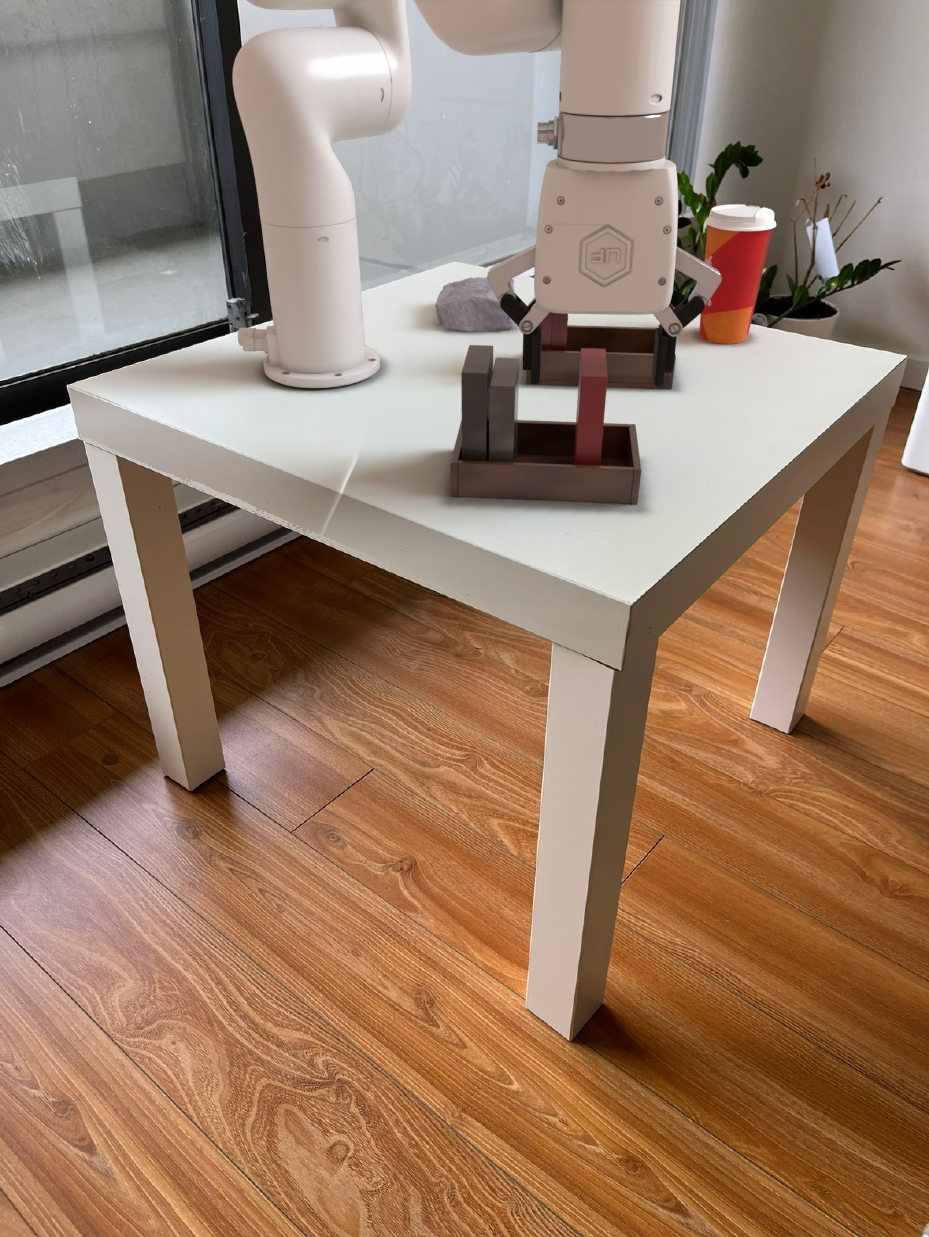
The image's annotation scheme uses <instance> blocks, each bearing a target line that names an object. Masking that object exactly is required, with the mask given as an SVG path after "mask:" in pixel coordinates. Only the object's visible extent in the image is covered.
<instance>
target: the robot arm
mask: <svg viewBox="0 0 929 1237" xmlns="http://www.w3.org/2000/svg"><path fill="white" fill-rule="evenodd" d="M246 1H247V2H248V3H250V4H251V5H253V6H254V7H258V8H261V9H264V10H272V11H273V10H275V11H311V10H312V11H313V10H314V11H315V10H332V11H333V16H334V20H335V24H336V26H322V25H321V26H301V27H285V28H284V27H283V28H276V29H271V30H267V31H264V32H260V33H258V34H256V35H254V36H252V37H250V39H248V40H247V41H246V42H245V43H244V44H243V45H242V46H241V47H240V49H239V51H238V52H237V54H236V56H235V59H234V61H233V66H232V88H233V94H234V98H235V102H236V107H237V111H238V114H239V117H240V121H241V124H242V127H243V128H242V129H243V131H244V135H245V138H246V141H247V146H248V149H249V154H250V158H251V164H252V168H253V169H252V170H253V174H254V175H253V176H254V179H255V180H254V181H255V187H256V195H257V202H258V210H259V217H260V224H261V225H260V226H261V232H262V240H263V250H264V256H265V258H264V259H265V265H266V273H267V274H266V275H267V281H268V290H269V300H270V307H271V314H272V322H273V324H272V325H267V326H266V328H265V329H263V328H262V329H261V328H256V327H239V328H238V330H237V341H238V345H239V346H240V347H242V350H243V351H244V352H255V353H256V352H264V354H265V355H266V357H265V358H264V360H263V370H264V373H265V376H266V377H267V378H269V379H270V380H271V381H273V382H275V383H278V384H281V385H283V386H288V387H294V388H301V389H328V388H337V387H343V386H349V385H352V384H357V383H359V382H362V381H364V380H367V379H368V378H371V377H372V376H374V375H375V374H376V373H377V372H378V371H379V369H380V368H381V357H380V353H379V352H378V350H376V349H374V348H373V347H371V346H369V345H367V344H366V341H365V327H364V324H365V323H364V312H363V311H364V310H363V309H364V308H363V297H362V296H363V295H362V294H363V293H362V281H361V280H362V279H361V265H360V250H359V235H358V220H357V208H356V198H355V192H354V188H353V185H352V182H351V180H350V177H349V176H348V174H347V173H346V170H345V169H344V168H343V165H342V164H341V163H340V161H339V159H338V158H337V156H336V154H335V152H334V151H333V148H332V145H331V144H333V143H338V142H341V141H350V140H355V139H365V138H371V137H378V136H382V135H385V134H389V133H391V132H393V131H394V130H396V129H397V128H398V127H399V126H401V124H402V123H403V121H404V120H405V119H406V117H407V114H408V112H409V109H410V105H411V101H412V93H413V92H412V91H413V72H412V71H413V70H412V69H413V68H412V58H411V56H412V55H411V47H410V45H411V44H410V36H409V25H408V14H407V13H408V12H407V3H406V0H246ZM412 1H413V2H414V5H415V6H416V8H417V10H418V11H419V13H420V15H421V17H422V18H423V20H424V22H425V23H426V24H427V26H428V27H429V28H430V30H431V31H432V33H433V34H434V35H435V36H436V37H437V38H438V40H440V42H442V43H443V44H444V45H445V46H447V47H448V48H449V49H451V50H452V51H455V52H457V53H459V54H462V55H466V56H473V57H478V56H479V57H480V56H496V55H505V54H506V55H507V54H517V53H543V52H544V53H545V52H556V51H560V66H559V67H560V69H559V92H558V93H559V95H558V116H554V119H548V121H546V122H544V121H543V122H542V121H540V122H537V130H536V131H537V132H536V144H537V145H538V144H540V145H542V144H543V145H545V144H546V145H547V146H548V147H552V149H553V150H557V152H556V154H557V155H556V158H554V159H552V160H549V161H548V163H546V166H545V170H544V173H543V174H544V175H543V178H542V184H541V191H540V197H539V204H538V212H537V213H538V214H537V225H536V240H535V243H534V244H532V245H530V246H529V247H527V248H525V249H523V250H522V251H519V252H518V253H516V254H514V255H512V256H510V257H508V258H507V259H504V260H503V261H501V262H499V263H497V264H495V265H493V266H491V267H490V268H489V270H488V272H487V274H486V277H487V279H488V282H489V284H490V286H491V288H492V290H493V292H494V294H495V296H496V298H497V299H498V301H499V303H500V307H501V309H502V310H503V311H504V312H505V313H506V314H507V315H508V316H509V317H510V318H511V319H512V320H513V323H514V324H515V325H516V326H517V327H518V328H519V331H520V333H522V361H521V362H522V364H521V365H522V366H521V369H522V371H527V370H531V384H530V385H532V386H533V385H535V386H538V385H537V383H540V373H541V346H542V326H540V323H541V322H542V321H543V319H544V318H545V317H546V316H547V315H548V314H549V313H550V312H553V313H562V314H568V315H613V316H614V315H615V316H616V315H618V316H619V315H621V316H636V315H637V316H639V315H640V316H641V315H653V316H654V318H656V320H657V321H658V322H659V324H658V327H655V328H656V334H655V344H654V353H653V363H652V379H653V384H654V385H656V387H663V385H664V376H665V373H673V366H674V358H675V354H676V348H677V339H678V336H680V335H681V334H682V333H683V330H684V328H686V327H687V326H688V325H689V324H690V323H691V322H693V321H694V320H695V319H696V318H697V317H698V316H700V315H701V313H702V312H703V310H704V308H705V305H706V304H707V302H708V301H709V300H710V298H711V297H712V295H713V294H714V292H715V291H716V289H717V288H718V286H719V285H720V283H721V281H722V277H721V275H720V273H719V271H718V270H717V269H715V268H714V267H712V266H710V265H708V264H707V263H705V261H704V260H701V259H700V258H698V257H696V256H695V255H692V254H691V253H690V252H689V251H686V250H684V249H682V248H681V247H679V246H678V245H677V244H678V222H679V221H678V220H679V191H678V190H679V189H678V188H679V187H678V186H679V185H678V184H679V183H678V173H677V172H678V171H677V164H675V163H674V161H672V160H670V159H666V155H667V146H668V136H669V124H670V116H671V115H670V114H671V112H670V110H671V104H672V94H673V82H674V72H675V62H676V54H677V53H676V52H677V42H678V31H679V23H680V22H679V20H680V10H681V2H682V1H681V0H412ZM532 269H533V278H534V279H533V291H534V297H533V298H532V300H531V301H530V302H529V303H528V304H526V303H525V302H524V301H523V300H522V299H521V298H520V297H519V296H518V295H517V293H516V292H515V290H514V291H513V289H512V286H511V284H510V280H511V279H514V278H516V277H518V276H520V275H522V274H524V273H526V272H527V271H530V270H532ZM676 270H677V271H678V272H680V273H682V274H684V275H685V276H687V277H688V278H690V279H692V280H694V281H695V282H696V284H695V286H694V287H693V290H692V291H691V293H690V294H689V295H687V296H686V297H685V298H684V299H683V300H681V302H680V303H679V304H677V305H676V306H674V305H673V303H671V301H672V298H673V297H672V296H673V290H674V283H675V273H676Z"/></svg>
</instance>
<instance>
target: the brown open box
mask: <svg viewBox="0 0 929 1237" xmlns="http://www.w3.org/2000/svg"><path fill="white" fill-rule="evenodd" d="M540 326H542V346H541V373H540V383H537V385H536V386H538V385H541V386H568V387H569V386H570V387H571V386H573V387H578V384H579V370H580V355H581V348H591V349H605V350H606V363H607V376H608V379H607V388H631V389H632V388H633V389H634V388H636V389H660V390H661V389H662V390H672V389H673V384H674V383H673V382H674V376H675V368H676V360H677V355H676V353H675V358H674V366H673V373H665V376H664V385H663V387H656V385H654V384H653V379H652V363H653V353H654V344H655V334H656V328H657V327H653V326H652V327H651V326H650V327H649V326H646V327H645V326H613V325H611V326H609V325H579V324H578V325H575V324H574V325H573V324H569V314H562V313H553V312H550V313H549V314H548V315H547V316H546V317H545V318H544V319H543V321H542V322H541V323H540ZM525 371H526V374H525V378H526V379H525V384H526V385H531V370H525Z"/></svg>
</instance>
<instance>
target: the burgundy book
mask: <svg viewBox="0 0 929 1237" xmlns="http://www.w3.org/2000/svg"><path fill="white" fill-rule="evenodd" d="M607 379H608V376H607V363H606V350H605V349H591V348H581V355H580V370H579V384H578V386H577V400H576V401H577V402H576V415H575V422H576V428H575V443H574V458H573V465H591V466H600V460H601V448H602V437H603V425H604V423H605V413H606V400H607V388H608V387H607Z"/></svg>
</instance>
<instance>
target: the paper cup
mask: <svg viewBox="0 0 929 1237" xmlns="http://www.w3.org/2000/svg"><path fill="white" fill-rule="evenodd" d="M704 223H705V224H706V225H707V229H706V240H705V252H704V262H705V263H707V264H708V265H710V266H712V267H714V268H715V269H717V270H718V271H719V273H720V275H721V277H722V281H721V283H720V285H719V286H718V288H717V289H716V291H715V292H714V294H713V295H712V297H711V298H710V300H709V301H708V302H707V304H706V305H705V308H704V310H703V312H702V313H701V314H699V316H700V317H699V337H700V338H701V339H703V340H704V341H706V342H710V343H714V344H722V345H733V344H735V345H736V344H740V343H744V342H746V340H747V338H748V336H749V332H750V329H751V325H752V320H753V316H754V312H755V309H756V308H755V307H756V303H757V299H758V296H759V295H758V294H759V290H760V287H761V281H762V277H763V273H764V268H765V263H766V259H767V257H768V256H767V255H768V251H769V247H770V242H771V238H772V233H773V229H774V228H776V227H777V223H776V220H775V211H774V210H773V209H771V208H769V207H764V206H763V207H760V206H758V205H751V204H750V205H747V204H738V203H737V204H736V203H735V204H722V205H716V206H713V207H712V208H711V209H710V212H709V215H708V216H707V218H706V219H705V220H704Z"/></svg>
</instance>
